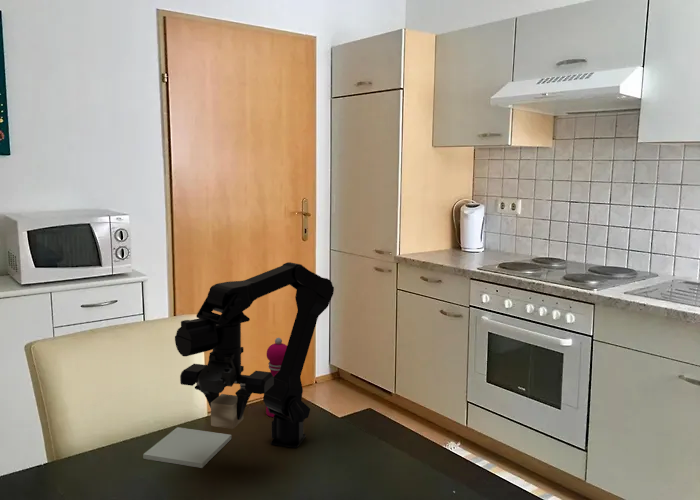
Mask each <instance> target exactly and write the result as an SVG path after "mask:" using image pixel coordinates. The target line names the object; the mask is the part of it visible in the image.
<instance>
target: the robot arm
mask: <svg viewBox="0 0 700 500" xmlns="http://www.w3.org/2000/svg"><path fill="white" fill-rule="evenodd" d="M287 286H291V287H292V288H293V289H295V290H296V291H295V297H294V298H295V303H296V308H297V313H296V316H295V318H294V322H293V325H292V329H291V332H290V335H289V339H288V342H287V344H286V345H287V348H286V351H285V355H284V358H283V361H282V364H281V368H280V370H279V372H278V373H277V374H276V375H275V376H274V377H273V375H272V373H271V372H270V371H261V370H255V371H253V372H252V373H250V375H247V374H242V373H243V372H244V370H245V368H244V365H242V353H244V346H242V333H241V331H242V329H241V328H242V323H247V322H249V321H251V320H250V317H249V316H247V315H246V314H245V313H244V311H245V310H247V309H249V308H250V307H251V305H252V304H253V302H254V301H256V300H257V299H260V298H262V297H264V296H267V295H269V294H271V293H273V292H274V293H275V292H276V291H278V290H281V289H283V288H285V287H287ZM334 290H335V287H334V286H333V282H332V281H331V280H330V279H329V278H326V277H322V276H320V275H318V274H317V273H315V272H313V271H311V270H309V269H307V268H306V267H305V266H304V265H303V264H300V263H295V262H291V261H290V262H285V263H283V264H282V265H280V266H277V267H275V268H273V269H270V270H268V271H267V270H266V271H264V272H262V273H260V274H258V275H257V274H256V275H255V276H252V277H249V278H247V279H244V280H229V281H225V282H219V283H215V284H213V285H212V286H211V287H210V288H209V291H208V292H207V296H206V298H205V300H204V301H203V303H202V305H201V307H200V308H199V310H198V312H197V313H196V316H195V317H196V318H194V319H184V320H181V321H180V327H179V328H177V330H176V332H175V336H174V343H175V346H176V350H177V351H178V353H179V354H180V355H181V356H182V357H189V356H193V355H197V354H201V353H205V352H209V351H211V352H209V355H208V362H207V364H200V363H193V364H191V365H190V366H188V367H186V368H185V369H183V370H182V371H181V373H180V375H179V378H180V385H184V386H192V387H193V386H194V385H195V386H194V389H195V390H197V391H200V392H201V393H202V394H203V395H204V397H205V398H206V401H207V403H208V406H209V407H210V409H211V402H212V401H213V400H215V399H216V398H217V397H218V396H220V393H221V394H222V393H223V392H224V390H225V388H226V387H233V386H234V384H235V385H239V389H237V390H236V392H235V396H237V398H238V399H237V419H238V420H240V419H241V417H242V415H243V412H244V413H245V409H246V406H247V405H248V401H249V399H250V398H251V396H252V394H257V395H258V394H259V395H262V394H263V398H262V399H263V403H264V405H265V407H266V406H267V407H268V410H269V413H272V414H275V415H274V417H273V419H272V421H271V441H270V444H271V445H274V446H280V447H286V448H294V449H297V448H298V447H299V446H300V445H301V444H302V442H303V441H304V439H305V438H306V437H307V435H306V433H304V421H305V420H306V419H309V415H310V412H311V408H310V407H309V406H308V405H307V404H306V403H305V402H303V401H302V398H303V394H304V393H303V391H304V388H303V383H302V380H301V377H302V376H301V375H302V373H303V368H304V366H305V361H306V359H307V356H308V351H309V348H310V346H311V343H312V342H311V341H312V339H313V335H314V332H315V328H316V326H317V321H318V319H319V317H320V316H321V314H322V313H323V312H324V311H325V310H326V309H328V307H329V306H330V303H331V300H332V298H333V296H334V292H335V291H334ZM213 311H214V312H213ZM216 312H218V313H221V314H218V313H216Z"/></svg>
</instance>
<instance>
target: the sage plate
mask: <svg viewBox="0 0 700 500" xmlns="http://www.w3.org/2000/svg"><path fill="white" fill-rule="evenodd" d="M231 440H232V434H227V433H220V432H213V431H207V430H201V429H200V430H199V429H192V428H185V427H180V426H179V427H178V426H177V427H176V428H175V429H174V430H172V431H171V432H169V433H168V434H167V435H166V436H164V437H163V438H161V440H159V441H158V442H157V443H155V444H154V445H153V446H152V447H150V448H149V449H148V450H146V451H145V452H144V453H143V454H142V455H143V456H142V457H143V458H142V459H144V460H149V461H157V462H162V463H170V464H175V465H182V466H188V467H194V468H200V469H204V467H205V466H206V464H208V463H209V461H211V460H212V459H213V457H215V456H216V454H218V453H219V452H220V451H221V450H222V449H223V448H224V447H225V446H226V445H227V444H228V443H229V442H230V441H231Z"/></svg>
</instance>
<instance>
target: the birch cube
mask: <svg viewBox="0 0 700 500" xmlns="http://www.w3.org/2000/svg"><path fill="white" fill-rule="evenodd" d="M237 399H238V398H237V396H236V394H235V395H233V394H228V393H227V394H225V393H221V394H219V396H218V397H217V398H216V399H215V400H213V401H212V402H211V408H210V426H211V427H216V428H225V429H230V430H234V429H235V428H236V427H237V426H238V425H239V424H240V423H241V422H242V421H243V420H244V418H245V417H244V416H245V415H244V413H245V411H244V412H243V415H242V417H241V419H240V420H238V419H237Z"/></svg>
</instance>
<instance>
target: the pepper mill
mask: <svg viewBox="0 0 700 500" xmlns="http://www.w3.org/2000/svg"><path fill="white" fill-rule="evenodd" d="M287 345H288V344H285V343H283V340H282V338H281V337H276V338H275V339H274V343H273V344H271V345H270V346H268V347H267V350H266V358H267V360H268V361H269V362H268V369H269V372H271V373H272V375H273V377H274V376H275V375H276V374H277V373H278V372H279V370H280V368H281V364H282V361H283V358H284V355H285V351H286V348H287ZM265 414H266V415H267V416H268V417H270V418H274V415H275V414H272V413H269V410H268V407H267V406H266V405H265Z"/></svg>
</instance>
